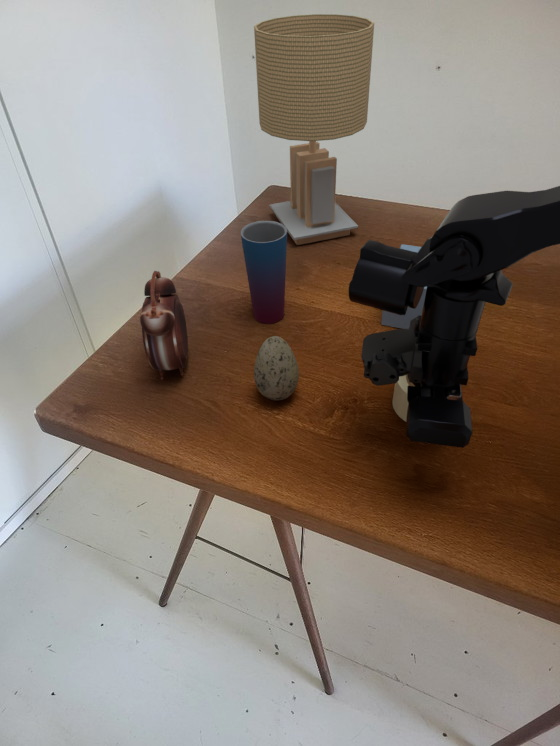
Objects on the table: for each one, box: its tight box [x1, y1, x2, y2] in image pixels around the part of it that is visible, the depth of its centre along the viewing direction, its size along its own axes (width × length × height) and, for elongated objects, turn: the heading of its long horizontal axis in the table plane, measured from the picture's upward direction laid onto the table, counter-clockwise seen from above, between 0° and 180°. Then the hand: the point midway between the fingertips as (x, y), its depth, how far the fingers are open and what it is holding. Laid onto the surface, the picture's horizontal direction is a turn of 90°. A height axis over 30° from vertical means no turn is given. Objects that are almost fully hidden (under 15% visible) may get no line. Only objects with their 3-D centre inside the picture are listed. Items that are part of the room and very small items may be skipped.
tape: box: [391, 374, 414, 422], centre depth 68 cm, size 8×8×5 cm
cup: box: [240, 220, 288, 325], centre depth 81 cm, size 7×7×15 cm
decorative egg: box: [253, 335, 300, 401], centre depth 68 cm, size 6×6×10 cm
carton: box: [380, 243, 427, 330], centre depth 82 cm, size 12×12×8 cm
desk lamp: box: [253, 13, 375, 246], centre depth 96 cm, size 20×20×35 cm
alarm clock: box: [139, 270, 189, 381], centre depth 72 cm, size 11×5×15 cm, turn 5°
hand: (424, 425), depth 64 cm, fingers closed
